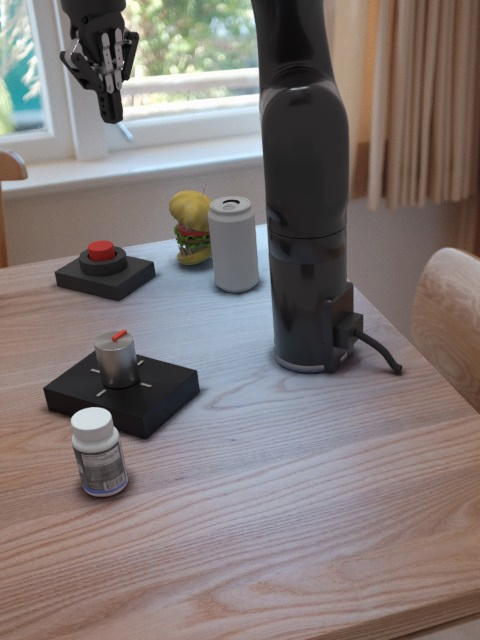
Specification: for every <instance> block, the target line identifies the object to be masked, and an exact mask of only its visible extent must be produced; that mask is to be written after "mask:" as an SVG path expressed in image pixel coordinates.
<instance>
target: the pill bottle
mask: <svg viewBox="0 0 480 640" xmlns="http://www.w3.org/2000/svg"><path fill="white" fill-rule="evenodd" d="M70 425H71V431H72V434H73V435H72V437H71V446H72V449H73V453H74V456H75V461H76V465H77V470H78V474H79V477H80V481H81V485H82V488H83V490H84V491H85V492H86V494H88V495H90V496H92V497H98V498H99V497H100V498H101V497H110V496H115V495H116V494H118V493H120V492H121V491H123V490H124V489H125V488H126V486H127V485H128V481H129V477H128V471H127V466H126V461H125V456H124V451H123V447H122V442H121V437H120V432H119V431H117V429H116V428H115V427H114V426H113V421H112V416H111V414H110V412H109V411H107V410H106V409H103V408H98V407H91V408H86V409H83V410H80V411H78V412H77V413H75V414H74V415H73V416H72V417H71V418H70Z"/></svg>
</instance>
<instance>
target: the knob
mask: <svg viewBox="0 0 480 640" xmlns="http://www.w3.org/2000/svg"><path fill="white" fill-rule="evenodd" d="M93 346H94V351H95V352H96V356H97V361H98V366H99V371H100V375H101V380H102V383H103V384H104V385H105V386H107V387H110V388H125V387H129V386H131V385H133V384H135V383H136V382H137V381H138V380H139V378H140V374H139V368H138V362H137V357H136V354H137V352H136V347H135V346H136V345H135V341H134V336H133V335H132V334H131V333H129V332H128V330H127V329H121V330H113V331H108V332H104V333H102V334H99V336H97V337H96V338H94V341H93Z"/></svg>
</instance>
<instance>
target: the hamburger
mask: <svg viewBox="0 0 480 640" xmlns="http://www.w3.org/2000/svg"><path fill="white" fill-rule="evenodd" d="M206 186H207V184H206V183H205V184H204V185H203V188H202V189H201V190H200V192H199V191H197V190H181V191H179V192H177V193H175V194H174V195H173V196H172V197H171V198H170V200H169V203H168V212H169V213H170V216H172V217H173V220H175V221H177V224H175V226H173V233H174V236H176V237H175V241H176V243H177V246H178V250H179V252H178V253H177V255H176V259H177V261H178V262H179V263H180V264H181V265H183V266H194V265H198V264H200V263H203V262H205V261H206V260H208V259H209V258H212V250H211V241H210V231H209V222H208V212H209V210H210V203H211V202H212V201H213V199H212V198H211V197H209V196H208V195H206V194H204V193H205V190H206Z"/></svg>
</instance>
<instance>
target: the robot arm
mask: <svg viewBox="0 0 480 640" xmlns="http://www.w3.org/2000/svg"><path fill="white" fill-rule="evenodd" d="M249 1H250V4H251V9H252V13H253V19H254V25H255V35H256V49H257V59H258V60H257V61H258V62H257V63H258V64H257V65H258V89H259V90H258V92H259V93H258V94H259V97H258V116H259V117H258V118H259V126H260V131H261V135H260V136H261V148H262V162H263V179H264V194H265V195H264V196H265V197H264V198H265V199H264V201H265V202H264V203H265V219H266V232H267V233H266V234H267V248H268V249H267V250H268V267H269V281H270V297H271V313H272V328H273V343H274V347H273V354H274V358H275V361H276V362H277V363H278V364H279V365H280V366H282V367H283V368H285V369H288V370H291V371H293V372H299V373H323V372H325V373H326V372H327V373H332V374H333V373H335V371H336V370H337V369H338V368H339V367H340V366H341V365H342V364H343V363H345V362H346V361H347V359H348V358H349V357H350V356H351V355H352V354H353V353H354V351H355V344H356V343H358V341H359V340H360V342H363V343H364V344H366V345H368V346H369V347H371V348H372V349H374V350H375V351H376V352H378V353H379V354H380V356H382V358H383V359H384V360H385V362H386V363H387V365H388V366H389V367H390V369H391V370H392V371H394V372H395V373H399V374H400V373H402V371H403V364H399V363H398V362H397V361H396V359H395V358H394V357H393V355H392V353H391V352H390V351H389V350H388V349H387V347H385V345H383V344H382V343H380V342H379V341H378V340H376V339H375V338H374V337H372V336H370V335H369V334H367V333H365V332H364V314H363V313H359V312H355V293H354V292H355V285H354V283H353V282H352V281H348V235H347V234H348V231H347V230H348V228H347V227H348V226H347V223H348V216H347V215H348V206H349V200H350V156H351V155H350V153H351V152H350V150H351V149H350V148H351V147H350V122H349V121H350V120H349V115H348V112H347V109H346V107H345V103H344V101H343V99H342V96H341V93H340V91H339V88H338V84H337V81H336V76H335V72H334V68H333V62H332V57H331V52H330V46H329V40H328V39H329V38H328V33H327V26H326V17H325V0H249ZM60 6H61V10H62V11H63V13H64V14H66V15H67V17H68V18H69V23H70V25H69V37H70V40H71V42H70V44H69V46H68V49H67V50H61V51H60V52H59V60H60V61H61V62H62V64H63V65H64V66H65V67H66V69H67V70H68V71H69V72H70V74H71V75H72V76H73V78H74V79H75V80H76V81H77V83H78V84H79V85H80V86H81V88H82V89H83V90H86V91H93V92H94V93H96V97H97V103H98V109H99V114H100V117H101V119H102V121H103V122H104V123H105V124H110V125H117V124H119V123H121V122H122V121H124V108H123V100H122V95H121V90H122V88H123V83H124V82H125V81H127V82H128V81H130V78H131V75H132V71H133V67H134V62H135V58H136V54H137V51H138V47H139V42H140V34H139V32H138V31H131V30H130V29H129V28H128V27H126V21H125V19H124V17H123V14H122V12H124V11H125V10H126V9H127V0H60Z"/></svg>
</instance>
